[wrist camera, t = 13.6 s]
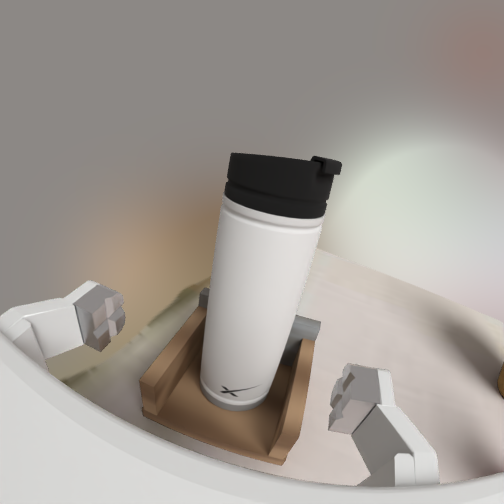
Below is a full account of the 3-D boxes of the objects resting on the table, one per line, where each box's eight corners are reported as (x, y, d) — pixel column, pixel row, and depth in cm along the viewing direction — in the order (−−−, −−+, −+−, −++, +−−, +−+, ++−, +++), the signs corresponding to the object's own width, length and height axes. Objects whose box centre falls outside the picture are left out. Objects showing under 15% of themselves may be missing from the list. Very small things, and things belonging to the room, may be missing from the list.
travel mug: (234, 427, 20) (303, 155, 12) (185, 377, 24) (210, 135, 16) (284, 392, 24) (361, 166, 16) (236, 352, 28) (279, 144, 20)
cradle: (281, 465, 18) (309, 426, 15) (143, 415, 20) (134, 365, 17) (302, 370, 29) (322, 322, 26) (197, 337, 31) (203, 286, 28)
